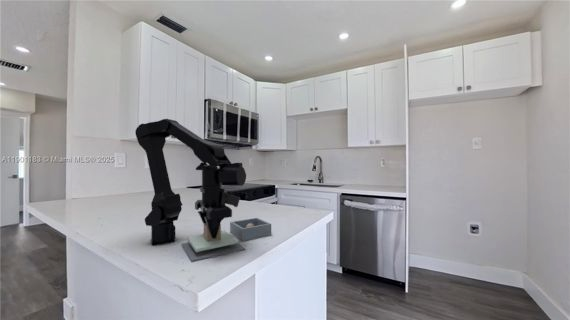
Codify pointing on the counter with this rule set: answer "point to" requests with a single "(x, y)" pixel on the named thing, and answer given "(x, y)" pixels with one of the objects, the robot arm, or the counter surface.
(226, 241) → the lid
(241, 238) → the dish
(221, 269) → the counter surface
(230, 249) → the mat
